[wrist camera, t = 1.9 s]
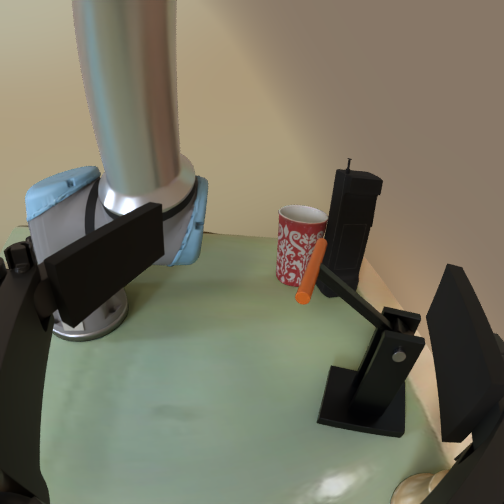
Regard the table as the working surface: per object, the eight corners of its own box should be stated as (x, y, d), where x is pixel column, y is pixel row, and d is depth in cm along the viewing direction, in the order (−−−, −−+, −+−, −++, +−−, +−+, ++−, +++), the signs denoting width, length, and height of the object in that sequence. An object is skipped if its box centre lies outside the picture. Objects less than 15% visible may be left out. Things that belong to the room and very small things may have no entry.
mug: (297, 295, 55) (309, 226, 49) (261, 274, 60) (268, 209, 54) (334, 273, 63) (347, 213, 57) (301, 256, 68) (310, 199, 62)
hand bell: (376, 517, 20) (467, 451, 12) (411, 463, 25) (489, 377, 18) (432, 544, 15) (541, 485, 7) (460, 488, 20) (551, 409, 13)
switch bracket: (316, 423, 31) (350, 343, 25) (328, 371, 39) (356, 289, 33) (400, 438, 28) (456, 363, 22) (401, 385, 36) (442, 309, 30)
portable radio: (346, 277, 62) (371, 157, 50) (360, 294, 56) (391, 166, 45) (312, 280, 60) (334, 153, 48) (325, 298, 55) (352, 161, 43)
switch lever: (287, 302, 24) (306, 284, 23) (310, 246, 33) (324, 231, 32) (398, 388, 24) (418, 376, 23) (395, 319, 34) (410, 308, 32)
